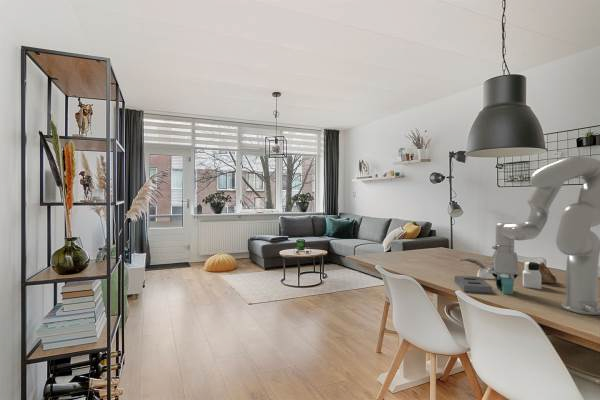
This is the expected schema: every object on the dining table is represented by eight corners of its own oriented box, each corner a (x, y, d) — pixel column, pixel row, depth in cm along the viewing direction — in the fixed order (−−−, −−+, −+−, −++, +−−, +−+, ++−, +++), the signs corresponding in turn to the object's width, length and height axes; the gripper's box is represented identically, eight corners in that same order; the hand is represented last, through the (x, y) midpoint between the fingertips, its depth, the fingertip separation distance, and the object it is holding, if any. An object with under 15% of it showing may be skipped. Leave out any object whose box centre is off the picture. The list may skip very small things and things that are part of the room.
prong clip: (504, 288, 162) (505, 274, 162) (513, 294, 151) (513, 280, 151) (495, 287, 163) (495, 274, 163) (504, 294, 152) (504, 279, 152)
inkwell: (497, 279, 179) (497, 261, 178) (460, 277, 184) (460, 259, 184) (493, 276, 187) (493, 258, 187) (458, 273, 193) (458, 256, 193)
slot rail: (479, 282, 172) (479, 276, 172) (492, 293, 153) (492, 287, 153) (454, 281, 175) (454, 275, 175) (463, 291, 156) (463, 285, 156)
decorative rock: (533, 283, 172) (533, 262, 171) (526, 280, 178) (526, 260, 177) (558, 284, 170) (558, 263, 170) (551, 281, 176) (551, 260, 176)
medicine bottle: (539, 286, 166) (539, 262, 166) (541, 289, 160) (541, 264, 160) (522, 284, 170) (522, 260, 170) (523, 287, 164) (523, 263, 164)
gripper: (487, 249, 155) (487, 288, 156) (528, 250, 151) (528, 291, 152) (482, 247, 163) (482, 284, 163) (521, 248, 159) (521, 286, 159)
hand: (504, 287), depth 157 cm, fingers closed on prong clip, 4 cm apart
